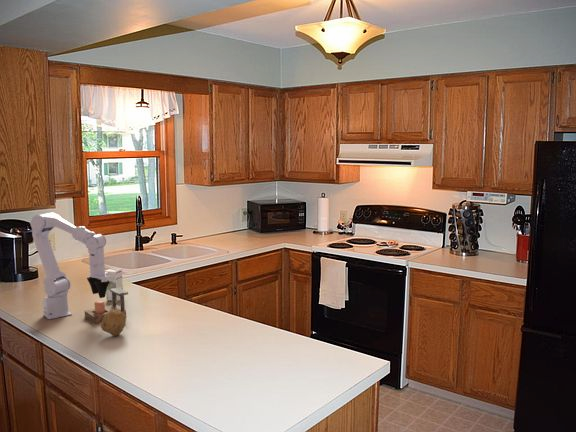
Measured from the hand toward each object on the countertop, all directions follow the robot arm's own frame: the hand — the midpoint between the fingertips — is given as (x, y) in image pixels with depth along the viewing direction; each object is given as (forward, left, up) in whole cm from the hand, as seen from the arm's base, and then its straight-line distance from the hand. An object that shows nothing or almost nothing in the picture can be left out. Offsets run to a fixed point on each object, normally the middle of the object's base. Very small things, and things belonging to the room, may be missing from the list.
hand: (98, 295), depth 217 cm
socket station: (+3, 0, -10) cm, 10 cm away
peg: (0, 0, -10) cm, 10 cm away
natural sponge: (-3, -24, -10) cm, 26 cm away
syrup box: (+16, +22, -10) cm, 29 cm away
